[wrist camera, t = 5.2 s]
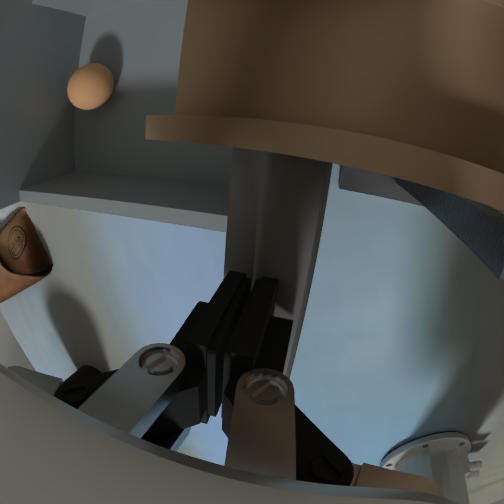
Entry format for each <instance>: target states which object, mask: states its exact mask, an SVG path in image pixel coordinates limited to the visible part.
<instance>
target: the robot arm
mask: <svg viewBox="0 0 504 504" xmlns="http://www.w3.org/2000/svg"><path fill="white" fill-rule="evenodd" d="M278 284H279V279H275V278H269V277H264V276H263V278H262V280H257V279H256V281H255V283H254V285H253V288H252V290H251V292H250V285H251V278H246V273H242V272H237V271H231V270H230V271H229V272H228V273H227V275H226V277H225V278H224V280H223V281H222V283H221V284H220V286H219V288H218V289H217V291H216V292H215V294H214V296H213V297H212V299H211V300H210V302H209V303H206V302H202V301H200V302H198V303H197V305H196V306H195V308H194V309H193V310H192V312H191V313H190V315H189V316H188V318H187V319H186V321H185V322H184V324H183V325H182V327H181V328H180V330H179V331H178V333H177V334H176V335H175V337H174V338H173V340H172V341H171V343H170V344H163V343H156V344H150V345H147V346H145V347H143V348H141V349H140V350H139V351H137V352H136V353H135V354H134V355H133V356H132V357H131V358H130V359H129V360H128V361H127V362H126V363H125V364H124V365H123V366H122V367H121V368H120V369H117V370H113V371H109V372H104V373H100V374H95V375H91V376H86V377H81V378H77V379H72V380H69V381H66V382H65V383H64V382H63V380H62V379H61V378H57V377H53V376H50V375H46V374H43V373H39V372H36V371H33V370H29V369H26V368H23V367H20V366H11V367H8V368H6V367H5V366H3V365H1V364H0V504H469V497H468V490H467V484H466V481H469V480H475V479H477V477H478V476H479V470H480V469H481V468H482V461H474V462H469V460H468V454H469V453H470V450H471V444H470V440H469V438H468V437H467V436H466V435H464V434H461V433H456V432H445V433H438V434H433V435H429V436H425V437H422V438H419V439H416V440H414V441H411V442H409V443H407V444H405V445H403V446H400V447H399V448H397V449H395V450H394V451H392V452H391V453H390V454H388V455H387V456H386V457H385V458H384V459H383V460H382V462H381V464H380V467H378V466H374V465H370V464H366V463H363V464H362V465H357V464H354V463H351V461H350V460H349V459H348V457H347V456H346V455H345V454H344V453H343V452H342V451H341V450H340V449H339V448H338V447H337V446H336V445H335V444H334V443H333V442H332V441H330V440H329V439H328V438H327V437H326V436H325V435H324V434H323V433H322V432H321V431H320V430H319V429H318V428H317V427H316V426H315V425H314V424H313V423H312V422H311V421H310V420H309V419H308V418H307V417H306V415H305V414H304V413H303V412H302V411H301V410H300V409H299V408H298V407H297V406H296V405H295V400H294V388H293V384H292V382H291V381H290V379H289V378H288V377H287V376H285V375H284V374H283V371H284V366H285V361H286V356H287V351H288V346H289V341H290V336H291V331H292V325H293V320H291V319H286V318H280V317H275V316H274V310H275V303H276V297H277V290H278ZM221 403H222V416H221V417H222V430H223V432H224V433H225V434H226V436H227V437H228V446H227V452H226V459H225V466H222V465H219V464H215V463H211V462H208V461H204V460H201V459H197V458H194V457H191V456H188V455H185V454H182V453H179V452H176V451H177V450H178V449H179V447H180V446H181V444H182V443H183V441H184V440H185V439H186V437H187V436H188V434H189V432H190V430H191V426H194V425H197V424H200V422H202V423H206V424H207V422H208V420H209V417H210V415H211V416H216V415H217V413H218V411H219V408H220V406H221Z"/></svg>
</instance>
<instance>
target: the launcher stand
mask: <svg viewBox="0 0 504 504" xmlns="http://www.w3.org/2000/svg"><path fill="white" fill-rule="evenodd" d="M339 189H344V190H349V191H355V192H360V193H365V194H370V195H375V196H380V197H385V198H389V199H394V200H399V201H403V202H408V203H412V204H416V205H421V206H424V207H426V208H427V209H428V210H429V211H430V212H431V213H432V214H434V215H435V216H436V217H437V218H438V219H439V220H440V221H441V222H442V223H443V224H445V225H446V226H447V227H448V228H449V229H450V230H451V231H452V232H453V233H454V234H455V235H456V236H457V237H458V238H459V239H460V240H461V241H462V242H463V243H464V244H466V245H467V246H468V247H469V248H470V249H471V250H472V251H473V253H474V254H475V255H476V256H477V257H478V258H479V259H480V260H481V261H482V262H483V263H484V264H485V265H486V266H487V267H488V268H489V269H490V270H491V271H492V272H493V274H494V275H495V276H496V277H497V278H498V279H499V280H504V215H503V214H501V213H499V212H498V211H496V210H495V209H493V208H491V207H490V206H488V205H485V204H483V203H480V202H477V201H474V200H471V199H468V198H465V197H462V196H459V195H455V194H452V193H449V192H446V191H442V190H439V189H436V188H432V187H429V186H425V185H422V184H418V183H415V182H411V181H407V180H403V179H400V178H396V177H392V176H388V175H384V174H380V173H376V172H371V171H367V170H363V169H358V168H354V167H349V166H344V165H342V166H341V172H340V179H339Z"/></svg>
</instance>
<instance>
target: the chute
mask: <svg viewBox="0 0 504 504" xmlns="http://www.w3.org/2000/svg"><path fill="white" fill-rule="evenodd" d="M145 139H150V140H166V141H179V142H191V143H202V144H212V145H221V146H229V147H233V152H232V164H231V177H230V190H229V204H228V218H227V232H226V248H225V264H224V278H225V277H226V275H227V273H228V272H229V271H230V270H231V271H237V272H242V273H246V278H251V285H250V292H251V290H252V288H253V285H254V283H255V281H256V279H257V280H262V278H263V276H264V277H269V278H275V279H279V284H278V290H277V297H276V303H275V310H274V316H275V317H280V318H286V319H291V320H293V325H292V331H291V336H290V341H289V346H288V351H287V356H286V361H285V366H284V371H283V374H284V375H285V376H287V377H288V378H290V375H291V371H292V367H293V363H294V359H295V355H296V350H297V346H298V342H299V338H300V334H301V329H302V325H303V320H304V316H305V311H306V307H307V302H308V298H309V293H310V288H311V283H312V278H313V273H314V268H315V263H316V258H317V253H318V248H319V242H320V237H321V231H322V226H323V220H324V214H325V208H326V202H327V196H328V190H329V183H330V177H331V170H332V163H335V164H340V165H344V166H349V167H354V168H358V169H363V170H367V171H371V172H376V173H380V174H384V175H388V176H392V177H396V178H400V179H403V180H407V181H411V182H415V183H418V184H422V185H425V186H429V187H432V188H436V189H439V190H442V191H446V192H449V193H452V194H455V195H459V196H462V197H465V198H468V199H471V200H474V201H477V202H480V203H483V204H485V205H488V206H491V207H494V208H497V209H499V210H502V211H504V0H188V4H187V10H186V17H185V24H184V31H183V39H182V47H181V56H180V65H179V74H178V85H177V96H176V109H175V115H146V133H145Z"/></svg>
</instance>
